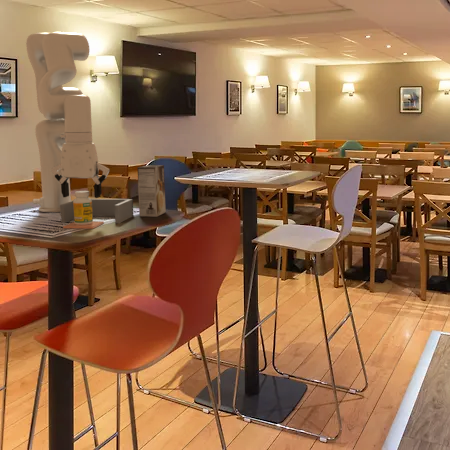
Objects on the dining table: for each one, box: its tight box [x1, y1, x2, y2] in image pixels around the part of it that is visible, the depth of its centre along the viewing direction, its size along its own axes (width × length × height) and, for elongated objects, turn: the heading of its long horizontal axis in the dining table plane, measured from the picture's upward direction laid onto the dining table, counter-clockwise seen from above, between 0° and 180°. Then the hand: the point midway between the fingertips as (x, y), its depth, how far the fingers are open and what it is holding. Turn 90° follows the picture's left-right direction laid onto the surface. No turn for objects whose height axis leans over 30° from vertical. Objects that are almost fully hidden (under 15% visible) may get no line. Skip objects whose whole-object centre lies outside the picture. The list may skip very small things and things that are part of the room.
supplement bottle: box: [72, 190, 94, 225], centre depth 173 cm, size 5×5×10 cm
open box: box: [59, 198, 134, 224], centre depth 185 cm, size 18×15×6 cm
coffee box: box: [137, 164, 167, 218], centre depth 193 cm, size 9×6×16 cm
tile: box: [63, 220, 105, 229], centre depth 173 cm, size 9×9×1 cm
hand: (81, 197), depth 173 cm, fingers open, 9 cm apart
